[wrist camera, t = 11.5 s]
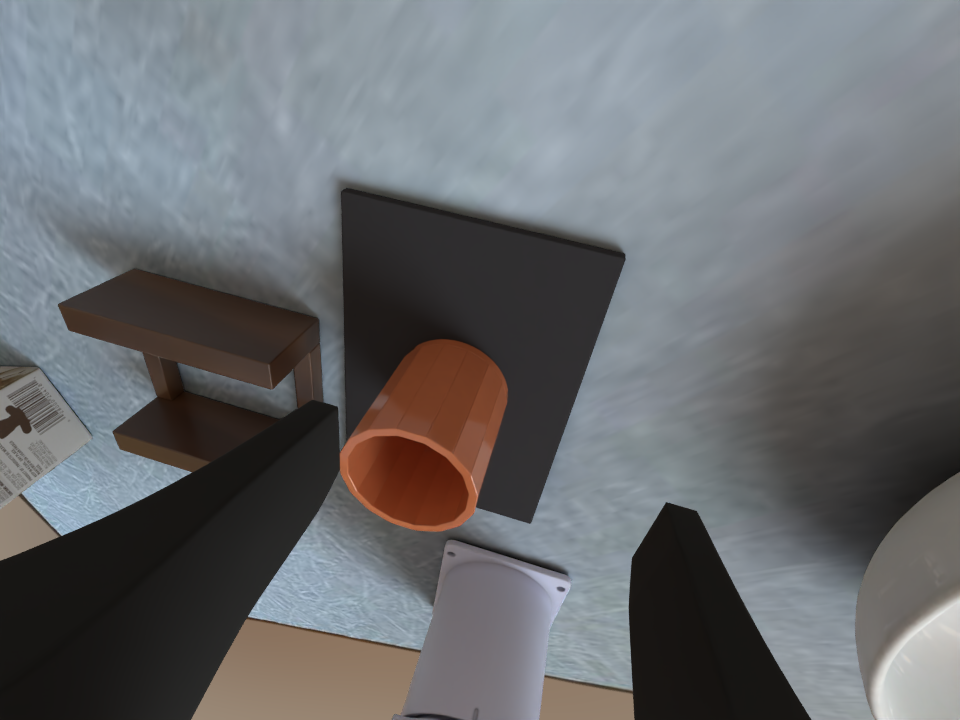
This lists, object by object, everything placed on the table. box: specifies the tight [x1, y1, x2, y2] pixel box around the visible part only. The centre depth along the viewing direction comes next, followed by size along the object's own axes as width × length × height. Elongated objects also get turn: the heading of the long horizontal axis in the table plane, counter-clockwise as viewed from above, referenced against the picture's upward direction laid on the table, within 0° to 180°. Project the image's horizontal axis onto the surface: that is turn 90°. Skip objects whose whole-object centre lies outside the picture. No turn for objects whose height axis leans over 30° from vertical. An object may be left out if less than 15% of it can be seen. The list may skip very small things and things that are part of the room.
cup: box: [340, 339, 508, 532], centre depth 20 cm, size 5×5×6 cm
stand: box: [58, 269, 323, 472], centre depth 24 cm, size 9×10×4 cm
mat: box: [341, 188, 625, 524], centre depth 22 cm, size 16×11×1 cm
